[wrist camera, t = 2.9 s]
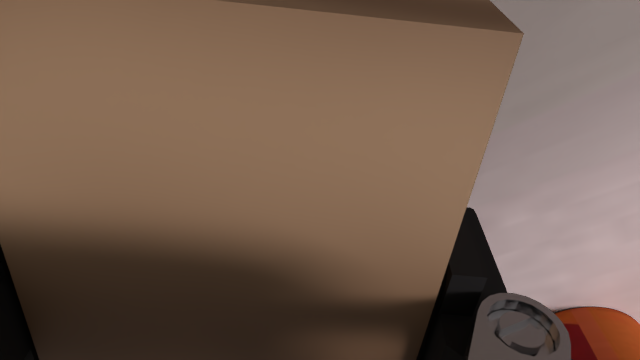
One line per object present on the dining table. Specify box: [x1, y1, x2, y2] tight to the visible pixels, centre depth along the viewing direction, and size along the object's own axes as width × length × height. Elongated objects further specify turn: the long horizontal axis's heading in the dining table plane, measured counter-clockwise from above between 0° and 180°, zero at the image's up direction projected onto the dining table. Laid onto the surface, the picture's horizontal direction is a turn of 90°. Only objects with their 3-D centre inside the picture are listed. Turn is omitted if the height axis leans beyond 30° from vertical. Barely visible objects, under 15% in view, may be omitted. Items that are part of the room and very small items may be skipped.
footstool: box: [0, 0, 524, 360], centre depth 11 cm, size 10×6×8 cm, turn 174°
